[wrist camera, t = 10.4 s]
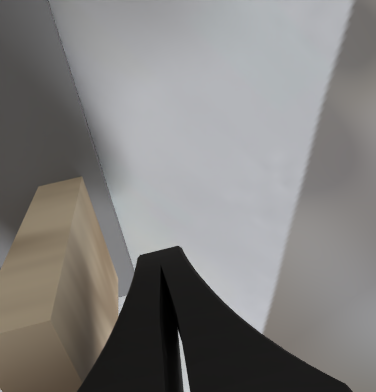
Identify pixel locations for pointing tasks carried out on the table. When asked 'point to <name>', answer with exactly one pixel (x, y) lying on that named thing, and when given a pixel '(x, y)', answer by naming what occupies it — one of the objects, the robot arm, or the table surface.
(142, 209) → the table surface
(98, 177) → the domino mat
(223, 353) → the robot arm
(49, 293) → the domino
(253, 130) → the table surface
